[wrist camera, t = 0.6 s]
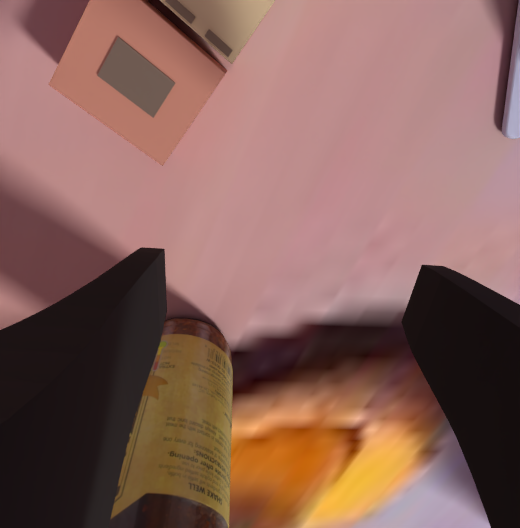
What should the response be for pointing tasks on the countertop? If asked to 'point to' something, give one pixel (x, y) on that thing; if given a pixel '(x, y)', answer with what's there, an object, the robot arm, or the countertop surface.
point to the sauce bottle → (180, 435)
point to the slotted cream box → (222, 21)
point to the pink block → (136, 74)
